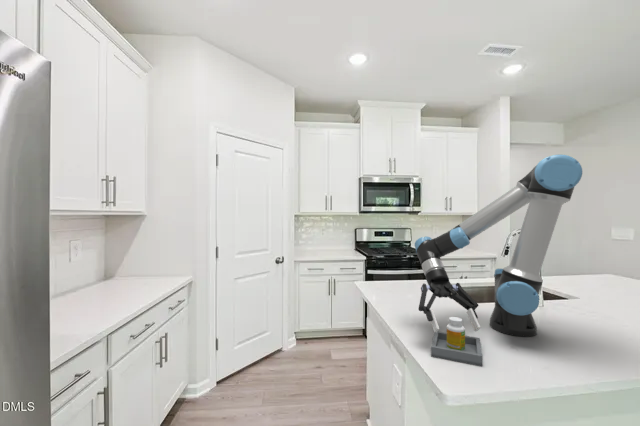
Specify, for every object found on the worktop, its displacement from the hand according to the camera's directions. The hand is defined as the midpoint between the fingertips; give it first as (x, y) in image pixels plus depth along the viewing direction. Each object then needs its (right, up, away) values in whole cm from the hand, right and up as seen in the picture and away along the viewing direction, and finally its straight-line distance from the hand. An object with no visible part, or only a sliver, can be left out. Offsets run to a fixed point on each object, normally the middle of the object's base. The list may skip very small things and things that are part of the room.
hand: (457, 330), depth 94 cm
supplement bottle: (0, -7, +1) cm, 7 cm away
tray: (0, -7, +1) cm, 7 cm away
